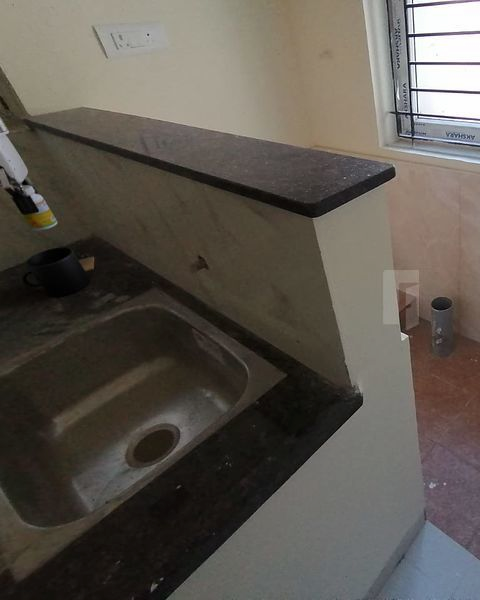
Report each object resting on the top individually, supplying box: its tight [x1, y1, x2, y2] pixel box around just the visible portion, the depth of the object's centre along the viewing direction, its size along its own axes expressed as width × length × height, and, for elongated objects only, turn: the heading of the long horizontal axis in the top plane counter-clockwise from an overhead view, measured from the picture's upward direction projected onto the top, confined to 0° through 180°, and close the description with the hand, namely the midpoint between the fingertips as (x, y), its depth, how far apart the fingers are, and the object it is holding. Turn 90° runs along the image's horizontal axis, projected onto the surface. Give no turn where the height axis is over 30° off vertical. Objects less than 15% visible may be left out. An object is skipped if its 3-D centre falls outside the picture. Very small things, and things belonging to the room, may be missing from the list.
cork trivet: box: [78, 256, 95, 272], centre depth 107 cm, size 7×7×1 cm
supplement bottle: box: [13, 185, 58, 232], centre depth 93 cm, size 5×5×10 cm
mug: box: [21, 246, 91, 298], centre depth 96 cm, size 9×12×9 cm
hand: (33, 207), depth 93 cm, fingers closed on supplement bottle, 5 cm apart
